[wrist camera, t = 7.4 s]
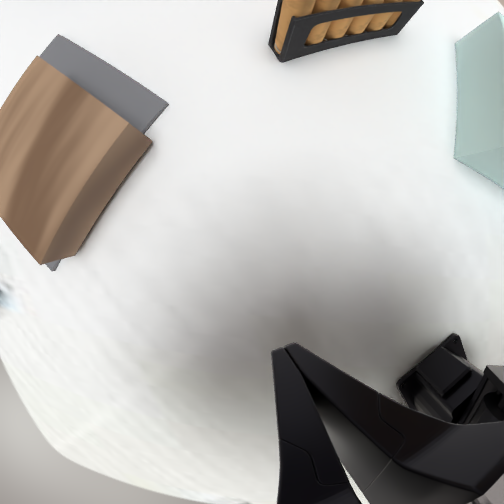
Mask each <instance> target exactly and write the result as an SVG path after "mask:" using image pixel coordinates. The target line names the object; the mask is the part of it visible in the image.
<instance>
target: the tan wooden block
mask: <svg viewBox="0 0 504 504" xmlns="http://www.w3.org/2000/svg"><path fill="white" fill-rule="evenodd" d="M152 142H153V141H152V140H151V139H149V138H148V137H147V136H145V135H144V134H143V133H141V132H140V131H139V130H138V129H136V128H135V127H134V126H132V125H131V124H130V123H128V122H127V121H126V120H124V119H123V118H122V117H120V116H119V115H118V114H116V113H115V112H114V111H112V110H111V109H110V108H109V107H107V106H106V105H104V104H103V103H102V102H100V101H99V100H98V99H96V98H95V97H94V96H92V95H91V94H90V93H88V92H87V91H86V90H84V89H83V88H82V87H80V86H79V85H77V84H76V83H75V82H73V81H72V80H71V79H69V78H68V77H67V76H65V75H64V74H62V73H61V72H60V71H58V70H57V69H55V68H54V67H53V66H51V65H50V64H48V63H47V62H46V61H44V60H43V59H41V58H40V57H39V56H36V58H35V59H34V60H33V61H32V63H31V64H30V65H29V67H28V68H27V69H26V71H25V72H24V74H23V75H22V76H21V78H20V79H19V81H18V82H17V84H16V85H15V87H14V88H13V90H12V91H11V93H10V94H9V96H8V97H7V99H6V101H5V102H4V104H3V106H2V107H1V109H0V217H1V218H2V219H3V221H4V222H5V223H6V225H7V226H8V227H9V229H10V230H11V231H12V232H13V234H14V235H15V236H16V237H17V239H18V240H19V241H20V242H21V243H22V245H23V246H24V247H25V248H26V249H27V251H28V252H29V253H30V254H31V255H32V256H33V258H34V259H35V260H36V261H37V262H38V263H39V264H40V265H42V264H45V263H49V262H53V261H56V260H60V259H64V258H67V257H71V256H75V255H76V253H77V251H78V250H79V248H80V246H81V244H82V243H83V241H84V239H85V238H86V236H87V234H88V233H89V231H90V229H91V228H92V226H93V225H94V223H95V221H96V220H97V218H98V217H99V215H100V214H101V212H102V211H103V209H104V207H105V206H106V204H107V203H108V201H109V200H110V199H111V197H112V196H113V194H114V193H115V191H116V190H117V188H118V187H119V185H120V184H121V183H122V181H123V180H124V178H125V177H126V176H127V174H128V173H129V172H130V170H131V169H132V168H133V166H134V165H135V164H136V162H137V161H138V160H139V158H140V157H141V156H142V154H143V153H144V152H145V151H146V149H147V148H148V147H149V146H150V144H151V143H152Z"/></svg>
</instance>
